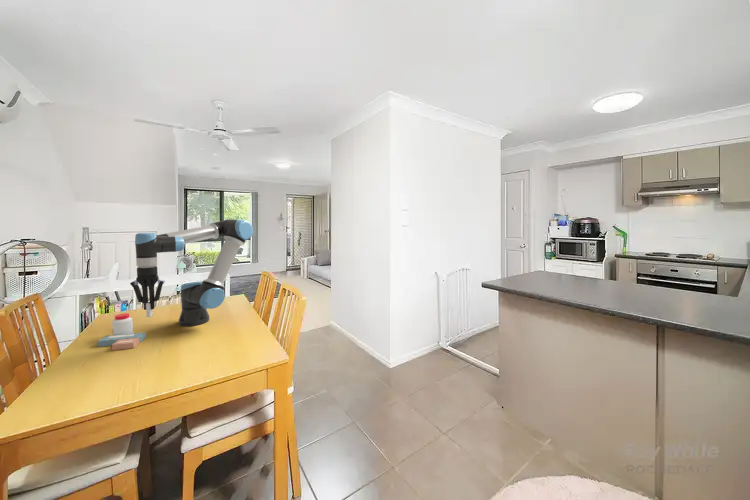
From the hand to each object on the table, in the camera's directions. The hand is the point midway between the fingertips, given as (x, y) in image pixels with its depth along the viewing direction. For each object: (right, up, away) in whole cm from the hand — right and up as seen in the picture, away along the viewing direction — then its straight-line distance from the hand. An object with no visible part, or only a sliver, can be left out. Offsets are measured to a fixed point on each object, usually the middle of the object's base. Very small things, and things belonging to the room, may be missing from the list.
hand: (149, 316), depth 137 cm
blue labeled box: (-16, -13, +4) cm, 21 cm away
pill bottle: (-21, -13, +10) cm, 26 cm away
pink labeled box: (-10, -14, -2) cm, 17 cm away
